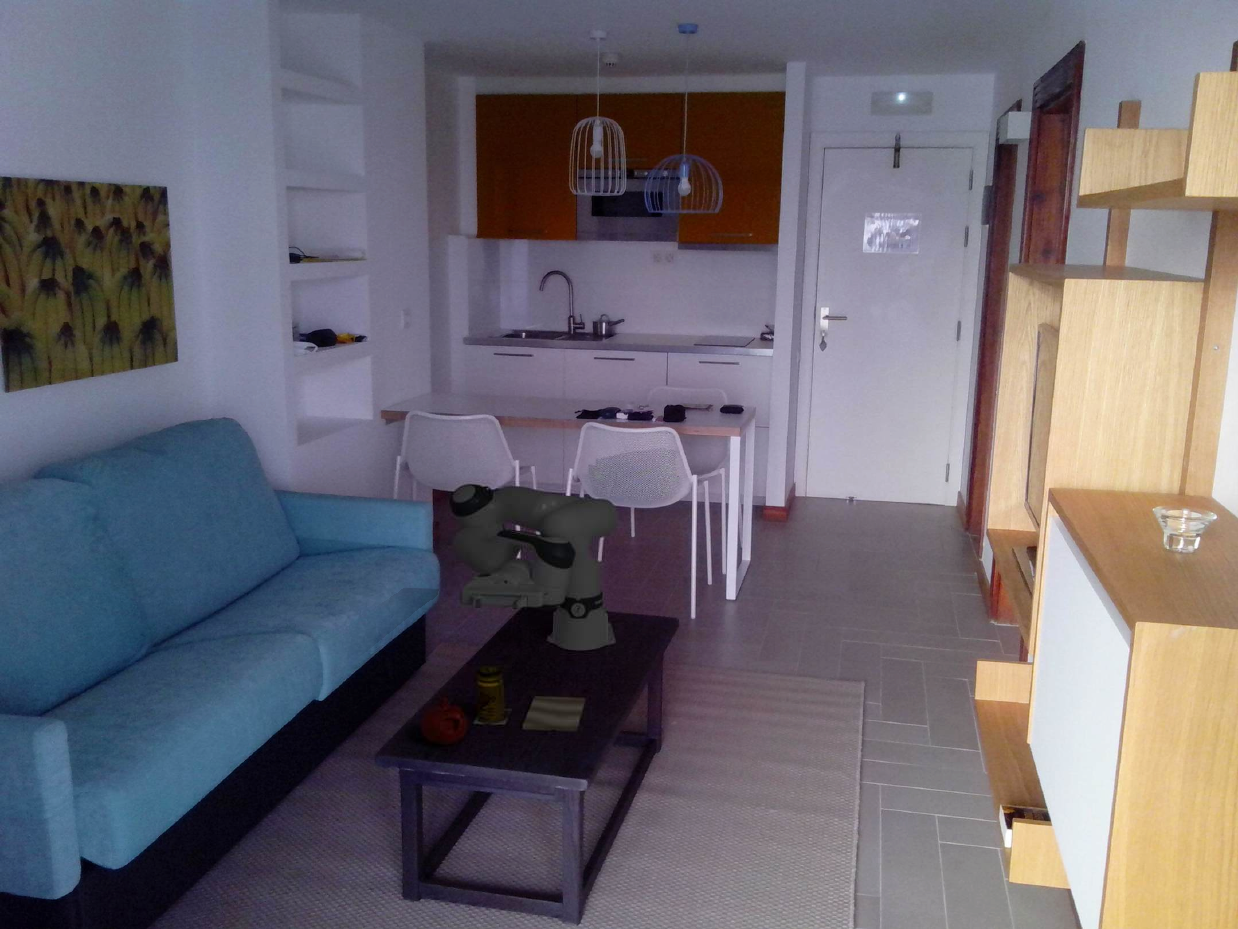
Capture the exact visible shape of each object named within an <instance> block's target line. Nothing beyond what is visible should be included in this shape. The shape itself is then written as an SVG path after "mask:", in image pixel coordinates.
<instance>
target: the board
mask: <svg viewBox="0 0 1238 929" xmlns="http://www.w3.org/2000/svg"><path fill="white" fill-rule="evenodd" d="M585 704H586V698H584V697H567V696H566V697H565V696H564V697H563V696H562V697H561V696H537V695H536V696H533V700H532V702H531V704H530V707H529V709H528V711H527V714H526V717H525V719H524V721H523V724H522V730H527V731H528V730H529V731H530V730H531V731H532V730H533V731H551V730H556V731H557V732H577V731H578V728H577V727H579V724H580V720H581V718H582V715H583V711H584V708H585ZM583 707H584V708H583ZM582 710H583V711H582ZM556 731H555V732H556Z"/></svg>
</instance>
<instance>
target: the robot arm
mask: <svg viewBox="0 0 1238 929" xmlns="http://www.w3.org/2000/svg"><path fill="white" fill-rule="evenodd" d="M449 507H450V510H451V513H452V514H453V515H454V517H455V520H456V522H457V525H458V526H459V528H460V530H459V531H458V532H456V534H455V535H454V537H453V540H452V545H451V547H452V548H451V549H452V551H453V554H454V555H455V556H456V558H457V559H458V560H459V561H461V563H462V564H464V565H466V566H467V567H468V568H469V569H471V570H473V572H476V573H478V574H476V575H473V577H472V580H470V581H468V582H466V583H465V584H464V585H463V586H462V587H461V589H460V591H459V601H460V602H459V603H460V604H461V605H462V606H473V608H474V609H481V607H482V606H484V607H485V606H486V607H487V606H489V607H503V608H512V609H513V610H520V609H522V608H531V609H535V610H540V611H549V610H550V611H551V610H554V609H556V608H557V609H556V610H555V611H554V612H553V616H552V617H553V619H552V620H553V621H552V622H553V624H552V626H553V627H552V628H553V629H552V632H551V633H550V634H549V635H548V636H547V638H546V642H549V643H551V644H553V645H556V646H557V647H558V648H561V649H565V650H570V651H589V650H591V651H593V650H595V649H596V650H597V649H600V648H602V647H604V646H609V645H614V644H616V643H617V641H616V637H615V633H614V629H613V626H612V623H611V622H608V621H609V620H608V619H609V618H608V616H609V615H608V613H607V611H606V610H605V607H604V594H603V590H602V566H601V564H600V562H599V561H598V559H596V558H595V557H593V556H592V554H591V552H590V549H589V543H590V542H593V541H596V540H598V539H599V540H600V539H602V538H604V537H605V536H607V535H608V534H610V533H611V532H613V531H614V530H615V529H616V528H617V526H618V523H619V514H618V510H617V509H618V508H616V506H615V504H614V503H613V502H612V501H611V500H609V499H606V498H591V497H582V496H575V495H574V496H573V495H563V494H554V493H550V492H545V491H543V490H538V489H536V488H535V489H534V488H531V487H530V488H529V487H526V486H519V485H505V486H503V487H501V488H499V489H498V490H497V491H496V492H494V491H493V489H492V488H491V487H490V486H488V485H484V486H483V485H480V484H473V483H467V484H462V485H461V486H459V487H457V488H456V489H455V490H454V491H453V492H452V494H451V495H450V496H449ZM503 523H511V524H513V525H515V526H518V527H521V528H525V529H527V530H531V531H534V532H538V533H540V534H538V533H533V532H528V531H524V530H523V531H522V530H517V529H506V528H505V525H504V524H503ZM522 549H523V550H527V551H531V552H533V554H534V555H533V556H534V558H533V563H532V562H531V561H530V560H528V559H526V558H523V557H518V555H519V553H520V552H521V551H522Z"/></svg>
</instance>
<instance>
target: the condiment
mask: <svg viewBox="0 0 1238 929" xmlns="http://www.w3.org/2000/svg"><path fill="white" fill-rule="evenodd" d="M477 671H478V672H477V674H478V675H477V678H478V679H477V681H476V692H477V696H476V697H477V698H476V700H477V715H476V718H475V719H474V721H473V723H472V724H473V725H475V724H476V725H486V724H488V725H489V724H490V725H494V726H496V725H504V726H505V725H506V723H507V721H508V719H509V718H510V717H509V716H510V715H511V712H512V710H513V708H505V687H504V685H505V684H504V683H505V681H504V679H503V674H502V673H503V672H502V668H501V666H498V665H495V664H494V665H492V664H491V665H490V664H488V665H484V666H481V667H480V668H478V670H477ZM504 715H505V716H504ZM484 723H485V724H484ZM490 725H489V726H490Z"/></svg>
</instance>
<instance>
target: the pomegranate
mask: <svg viewBox="0 0 1238 929" xmlns="http://www.w3.org/2000/svg"><path fill="white" fill-rule="evenodd" d="M441 701H442V704H441V703H439V702H438V701H434V700H433V703H434V704H437V705H438V706H436V705H433V704H432V705H430V706H429V707H428V708H427V711H425V712H424V713H423V715H422V719H421V722H420V729H421V734H422V735H423V736H424V737H425V739H426V740H427V741H429V742H431V743H432V744H435V745H443V746H445V745H446V746H447V745H453V744H455V743H457V742H459V741H460V740H461V739H462V738H463V737H464V736H465V734H466V731H467V728H468V720H467V718H466V716H465V714H464V712H463V710H462V709H463V707H460V706H459V705H450V704H451V703H452V702H454V701H453V700H449V701H448V697H442V698H441Z"/></svg>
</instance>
